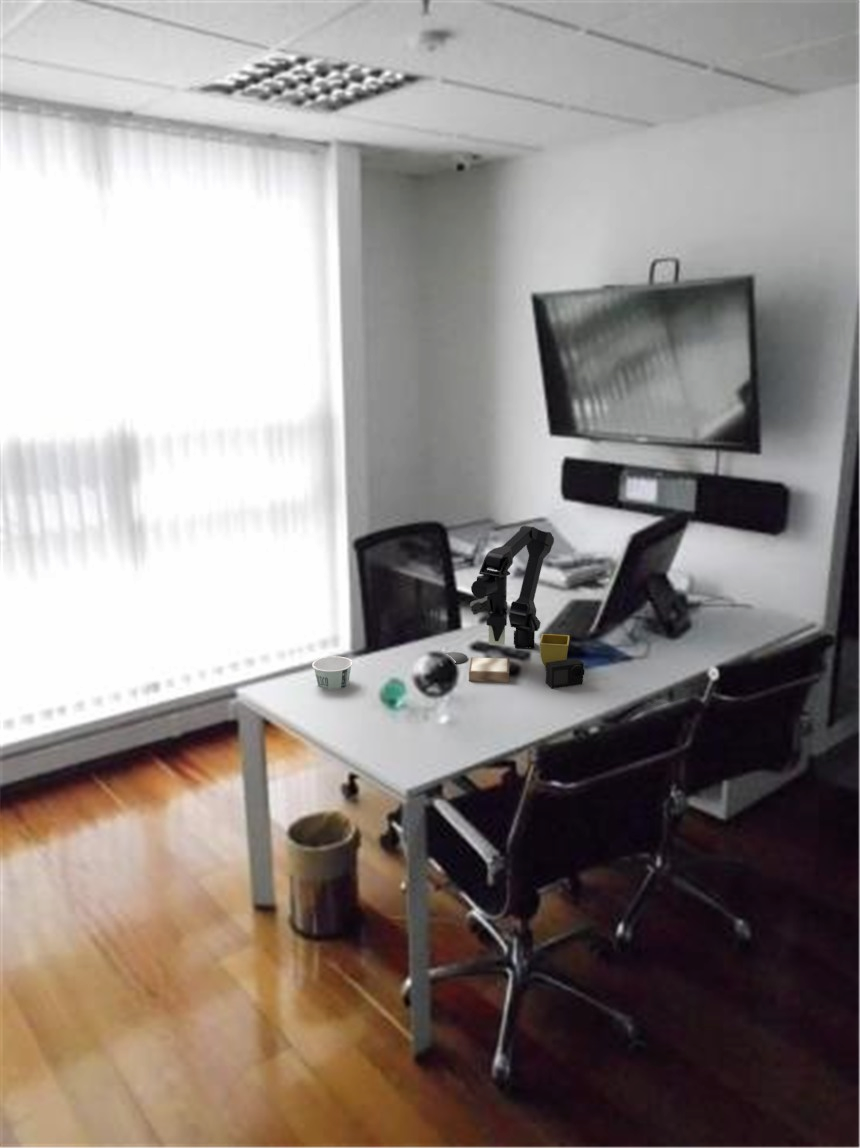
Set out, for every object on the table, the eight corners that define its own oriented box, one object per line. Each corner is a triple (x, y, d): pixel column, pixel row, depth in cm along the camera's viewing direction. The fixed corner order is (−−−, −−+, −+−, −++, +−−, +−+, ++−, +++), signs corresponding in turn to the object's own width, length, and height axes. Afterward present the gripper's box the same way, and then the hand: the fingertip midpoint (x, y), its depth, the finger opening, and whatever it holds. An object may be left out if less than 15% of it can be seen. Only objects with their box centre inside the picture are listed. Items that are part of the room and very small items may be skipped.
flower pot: (567, 672, 271) (568, 644, 269) (538, 670, 273) (539, 643, 270) (568, 662, 280) (569, 635, 277) (541, 660, 281) (541, 633, 279)
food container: (361, 680, 267) (360, 660, 265) (337, 694, 257) (336, 673, 255) (329, 673, 272) (328, 653, 271) (305, 686, 263) (303, 666, 261)
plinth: (509, 667, 276) (509, 657, 275) (508, 682, 264) (509, 672, 263) (470, 666, 277) (470, 656, 276) (468, 681, 265) (468, 671, 264)
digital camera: (553, 690, 258) (553, 668, 256) (545, 683, 263) (545, 661, 261) (585, 686, 261) (585, 664, 259) (576, 679, 266) (577, 657, 264)
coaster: (468, 654, 287) (468, 652, 287) (466, 664, 278) (466, 662, 278) (440, 653, 288) (440, 651, 288) (438, 663, 279) (438, 661, 279)
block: (504, 639, 282) (505, 621, 281) (504, 644, 277) (504, 626, 276) (489, 639, 283) (489, 621, 281) (488, 644, 278) (488, 626, 276)
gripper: (473, 582, 285) (472, 628, 289) (470, 599, 267) (470, 647, 271) (507, 583, 284) (506, 628, 288) (506, 600, 266) (506, 648, 270)
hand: (496, 638), depth 280 cm, fingers closed on block, 5 cm apart
